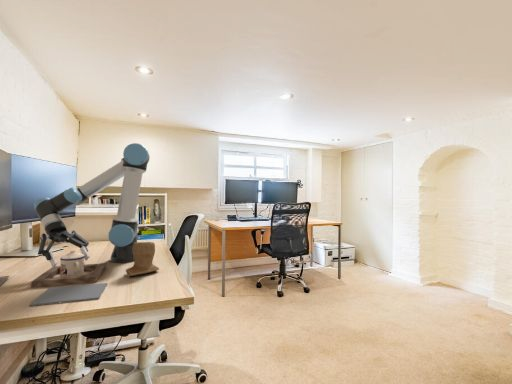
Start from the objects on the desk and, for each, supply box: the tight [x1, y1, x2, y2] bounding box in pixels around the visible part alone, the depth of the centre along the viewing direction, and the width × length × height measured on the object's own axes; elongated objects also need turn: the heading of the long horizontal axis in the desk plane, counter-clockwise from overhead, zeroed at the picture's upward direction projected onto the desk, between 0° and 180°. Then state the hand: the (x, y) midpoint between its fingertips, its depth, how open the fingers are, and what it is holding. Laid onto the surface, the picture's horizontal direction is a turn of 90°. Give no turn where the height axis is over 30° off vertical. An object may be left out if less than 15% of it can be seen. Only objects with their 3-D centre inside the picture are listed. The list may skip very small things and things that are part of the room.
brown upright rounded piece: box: [125, 241, 160, 277], centre depth 123 cm, size 15×12×15 cm
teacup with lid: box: [59, 249, 85, 277], centre depth 115 cm, size 12×9×12 cm
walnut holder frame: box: [30, 262, 107, 289], centre depth 115 cm, size 22×22×2 cm
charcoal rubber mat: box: [28, 282, 108, 307], centre depth 96 cm, size 20×16×1 cm
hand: (72, 261), depth 115 cm, fingers open, 13 cm apart
